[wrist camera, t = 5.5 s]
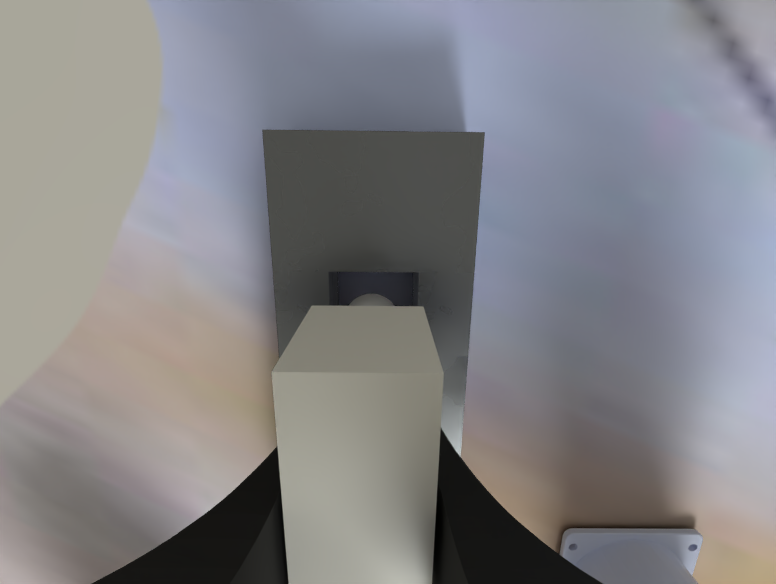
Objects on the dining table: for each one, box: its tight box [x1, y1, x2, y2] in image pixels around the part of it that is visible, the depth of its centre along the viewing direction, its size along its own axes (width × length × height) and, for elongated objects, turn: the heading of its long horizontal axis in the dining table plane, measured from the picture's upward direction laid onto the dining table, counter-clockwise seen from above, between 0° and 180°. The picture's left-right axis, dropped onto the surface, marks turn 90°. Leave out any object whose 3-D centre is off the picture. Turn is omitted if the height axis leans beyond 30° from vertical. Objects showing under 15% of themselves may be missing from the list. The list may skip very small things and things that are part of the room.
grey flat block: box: [263, 130, 485, 457], centre depth 18 cm, size 20×8×3 cm, turn 179°
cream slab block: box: [271, 294, 444, 584], centre depth 12 cm, size 9×3×7 cm, turn 179°
